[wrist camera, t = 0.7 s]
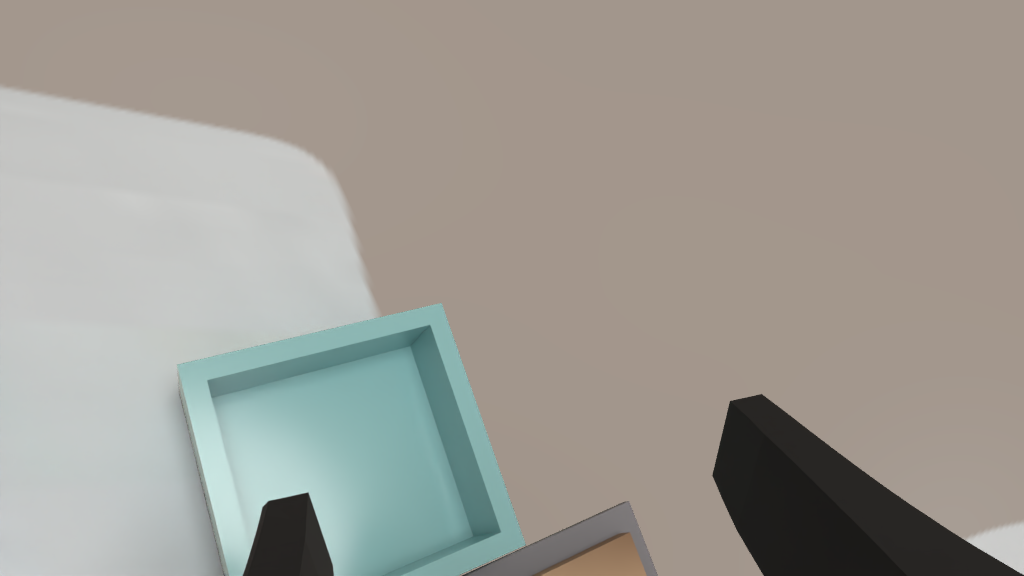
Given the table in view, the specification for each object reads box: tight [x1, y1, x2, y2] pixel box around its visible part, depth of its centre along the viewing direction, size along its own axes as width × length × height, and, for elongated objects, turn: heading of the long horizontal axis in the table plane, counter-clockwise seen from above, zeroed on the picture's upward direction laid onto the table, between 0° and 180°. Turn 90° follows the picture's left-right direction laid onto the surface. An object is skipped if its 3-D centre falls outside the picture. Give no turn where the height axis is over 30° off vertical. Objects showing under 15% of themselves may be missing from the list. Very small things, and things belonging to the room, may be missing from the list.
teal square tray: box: [177, 303, 526, 576], centre depth 24 cm, size 9×9×4 cm
